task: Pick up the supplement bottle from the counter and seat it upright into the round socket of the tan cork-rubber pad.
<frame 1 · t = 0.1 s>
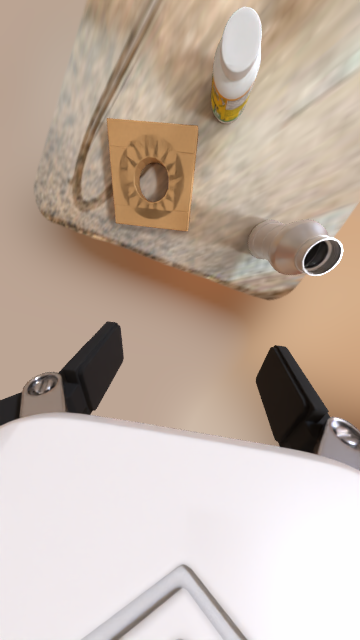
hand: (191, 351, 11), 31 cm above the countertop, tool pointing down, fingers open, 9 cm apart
socket pad: (155, 184, 32), on the countertop
plastic bottle: (261, 238, 34), on the countertop
supplement bottle: (228, 99, 26), on the countertop
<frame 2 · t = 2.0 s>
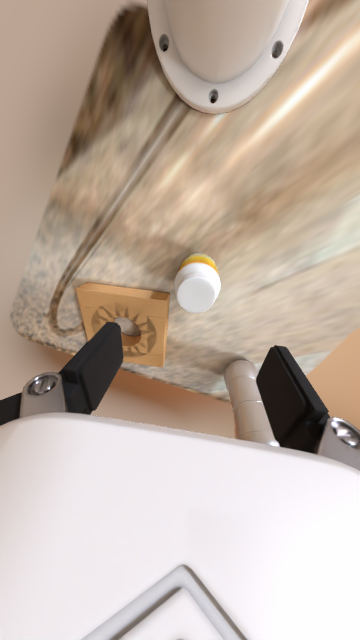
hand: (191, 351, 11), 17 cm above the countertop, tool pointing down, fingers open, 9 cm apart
socket pad: (130, 323, 32), on the countertop
plastic bottle: (239, 367, 34), on the countertop
supplement bottle: (198, 271, 26), on the countertop
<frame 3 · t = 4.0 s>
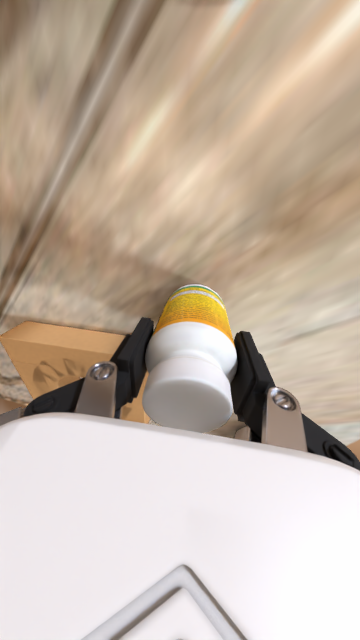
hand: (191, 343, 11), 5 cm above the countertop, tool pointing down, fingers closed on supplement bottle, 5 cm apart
socket pad: (97, 374, 22), on the countertop
supplement bottle: (194, 309, 16), on the countertop, touching gripper
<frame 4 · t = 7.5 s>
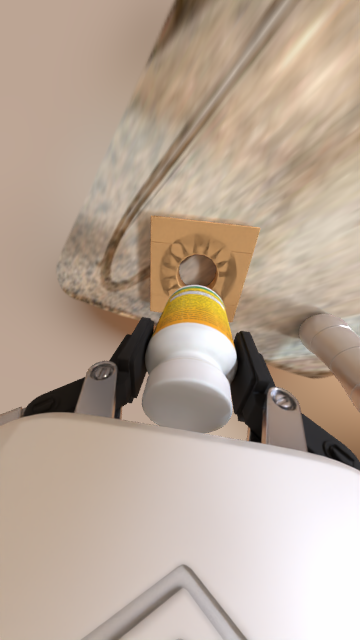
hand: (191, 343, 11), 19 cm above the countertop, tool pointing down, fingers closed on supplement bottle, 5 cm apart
socket pad: (197, 270, 28), on the countertop
plastic bottle: (313, 325, 31), on the countertop
supplement bottle: (194, 310, 16), point 14 cm above the countertop, touching gripper
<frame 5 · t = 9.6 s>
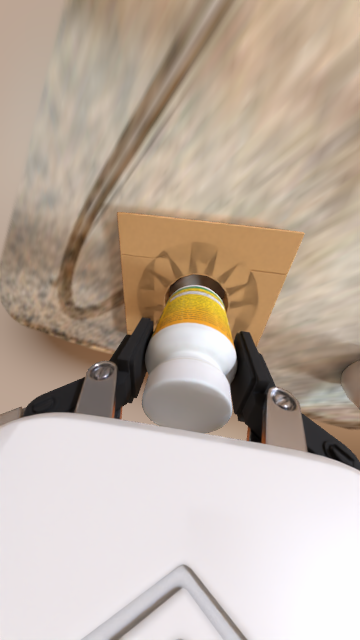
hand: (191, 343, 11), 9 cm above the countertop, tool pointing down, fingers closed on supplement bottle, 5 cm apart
socket pad: (196, 294, 19), on the countertop
supplement bottle: (194, 310, 16), point 4 cm above the countertop, touching gripper
when the fingers open (5 cm above the countertop, at t = 11.0 s): supplement bottle stays where it is, resting in socket pad.
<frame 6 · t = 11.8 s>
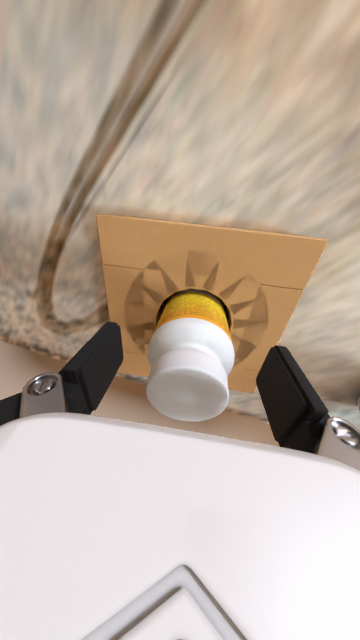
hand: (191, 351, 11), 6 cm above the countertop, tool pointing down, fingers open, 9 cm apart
socket pad: (194, 308, 16), on the countertop
supplement bottle: (194, 308, 17), resting in socket pad
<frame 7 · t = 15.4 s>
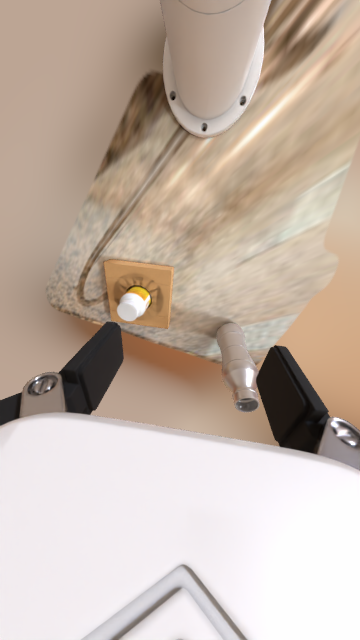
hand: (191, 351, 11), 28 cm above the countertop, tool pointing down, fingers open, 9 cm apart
socket pad: (142, 293, 40), on the countertop
plastic bottle: (228, 330, 43), on the countertop
supplement bottle: (142, 293, 40), resting in socket pad
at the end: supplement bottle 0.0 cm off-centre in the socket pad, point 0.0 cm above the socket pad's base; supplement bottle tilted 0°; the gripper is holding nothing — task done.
